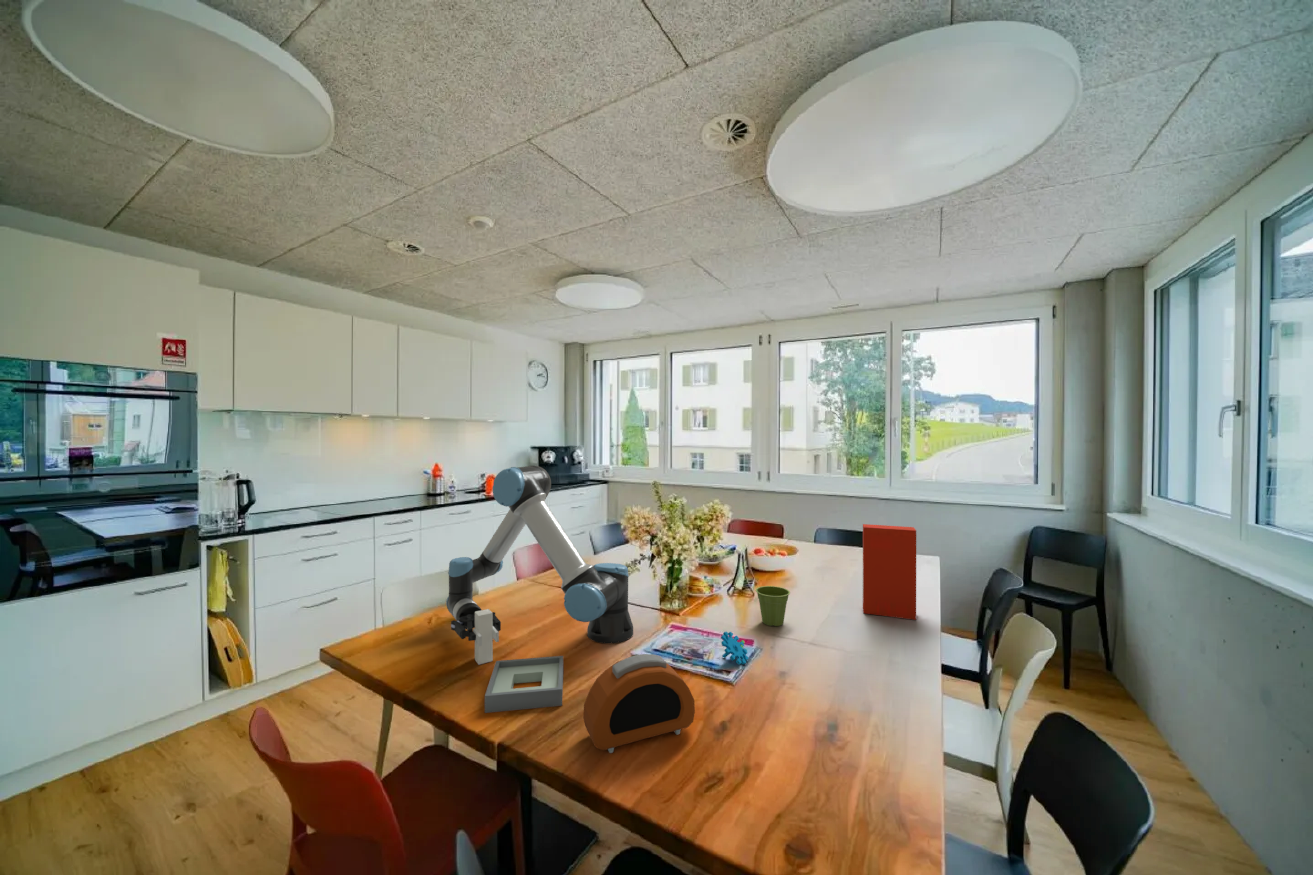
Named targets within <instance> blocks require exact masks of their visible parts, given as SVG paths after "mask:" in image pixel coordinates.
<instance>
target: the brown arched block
mask: <svg viewBox="0 0 1313 875" xmlns="http://www.w3.org/2000/svg"><path fill="white" fill-rule="evenodd" d="M695 708H696V707H695V699H694V695H693V694H692V692H691V689H690V688H689V686H688V684H687V683H686V681H685V680H684V679H683V678H682V677H681V676H680V675H679V673H677V672H676V670H674V668H673V667H671V665H670V664H668V663H667V661H666V660H665V659H664V658H663V657H662V656H661V655H657V654H650V653H649V654H647V653H646V654H645V653H644V654H636V655H633V656H628V657H626V658H624V659H621V660H618V661H616V662H615V663H613V664H612V665H611V666H609V667H608V668H606V669H605V670H604V671H603V672H602V673H601V674H600V675H599V676H598V677H596V679H595V681H594V683H593V684H592V686H590V688H589V692H588V693H587V697H586V698H585V701H584V703H583V715H582V716H583V721H584V726H585V729H586V731H587V733H588V734H589V738H590V740H591V741H592V743H593V746H594V747H595V748H596V749H598V750H600V751H606V750H607V751H608V753H609V754H612V753H614V751H615V748H617V747H620V746H624V745H627V744H632V743H636V742H638V741H639V742H640V741H642V740H646V739H649V738H654V737H657V736H660V735H661V736H662V735H664V734H668V733H672V732H674V733H675V735H676V736H677V735H680V734H681V730H683V729H686V728H689V727H690V726H691V725H692V724H693V722H694V719H695V713H696V710H695Z"/></svg>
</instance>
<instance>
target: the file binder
mask: <svg viewBox="0 0 1313 875" xmlns="http://www.w3.org/2000/svg"><path fill="white" fill-rule="evenodd" d="M862 611H863V612H862V613H863V614H867V615H872V616H873V615H874V616H883V617H890V618H898V619H905V620H906V619H907V620H915V621H916V620H917V529H916V528H915V527H914V526H899V525H881V524H865V523H862Z"/></svg>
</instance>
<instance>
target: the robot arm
mask: <svg viewBox="0 0 1313 875" xmlns="http://www.w3.org/2000/svg"><path fill="white" fill-rule="evenodd" d="M492 483H493V485H492V494H493V498H494V499H495V502H497V503H498V504H499V505H501V506H504V507H508V508H509V510H508V511H507V513H506V514H505V516H504V518H503V520H502V521H501V523H500V524H499V526H498V527H497V529H496V530H495V532H494V534H493V535H492V536H491V538H490V540H489V541H488V543H487V545H486V546H485V547H484V549H483V551H482V552H481V554H480V555H479V556H478V557H477V558H474V559H472V557H467V556H462V557H456V558H452V559H451V560H450V561H449V563H448V573H447V574H448V596H447V598H446V602H445V606H446V609H447V610H448V612H449V613H450V615H452V617H453V618H454V619H455V620H454V619H453V620H451V621H450V622H451V623H450V630H452V631H453V632H455V633H456V635H458V637H459V638H460V639H462V640H465V639H466V638H467V639H468V640H467V641H469V642H472V641H474V643H475V642H476V643H477V644H478V646H482V636H481V634H480V633H479V632H478V631H477V630H476V629H475V612H476V611H481V610H482V608H481V607H480V606H479V605H478V604H477V602H476V601H474V600H473V596H474V595H473V594H474V593H473V591H474V588H473V586H474V585H473V584H474V583H476V582H478V581H481V580H483V579H486V578H488V577H491V576H494V575H496V574H498V573H499V572H500V571H501V570H502V568H503V566H504V558H505V556H506V555H507V553H508V552H509V550H510V549H511V547H512V546H513V545H514V543H515V541H516V540H517V538H518V537H519V535H520V534H521V532H522V531H523V529H524V527H526V526H527V528H528V529H529V531H530V533H531V534H532V536H533V537H534V539H535V540H536V542H537V543H538V545H539V547H540V548H541V550H542V552H543V553H544V554H545V555H546V557H547V559H548V560H549V562H550V564H551V565H552V567H553V568H554V570H555V571H556V573H557V574H558V576H559V577H560V579H561V580H562V583H561V590H562V591H563V593H564V596H563V600H564V602H563V606H564V608H565V611H566V612H567V614H568V616H570V617H571V618H572V619H574V620H576V621H578V622H581V623H582V622H583V623H588V625H587V629H586V630H587V632H586V633H587V636H586V637H588V639H589V640H591V641H592V642H596V643H601V644H617V643H622V642H625V641H628V640H629V639H631V638H632V637H633V636H634V624H633V622H632V618H631V615H630V613H629V577H630V575H629V569H628V567H627V566H626V565H624V564H621V563H613V562H603V563H602V562H601V563H599V562H598V563H596V564H594V565H593V564H590V563H589V564H588V563H586V561H585V559H584V558H583V557H582V555H581V554H580V552H579V551H578V549H577V548H576V545H574V543H573V542H572V540H571V539H570V537H569V536H568V534H567V533H566V531H565V529H564V528H563V527H562V525H561V524H560V522H559V521H558V519H557V517H556V516H555V515H554V513H553V512H552V510H551V508H550V507H549V505H548V504H547V503H546V499H547V498H548V496H549V494H550V492H551V488H552V480H551V477H550V474H549V472H547V470H546V469H544V468H543V467H541V466H539V465H528V466H525V465H524V466H519V467H518V466H517V467H516V466H511V467H509V468H504V469H502V470H500V471H499V472H498V473H497V474H496V475H495V477H494V480H493V482H492ZM491 612H492V613H493V641H495V643H499V641H500V639H499V638H500V631H501V629H502V628H501V627H502V626H501V625H502V624H501V623H502V622H501V621H500V619H499V618H498V617H497V616H496V612H495V611H494V612H493V611H491Z"/></svg>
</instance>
